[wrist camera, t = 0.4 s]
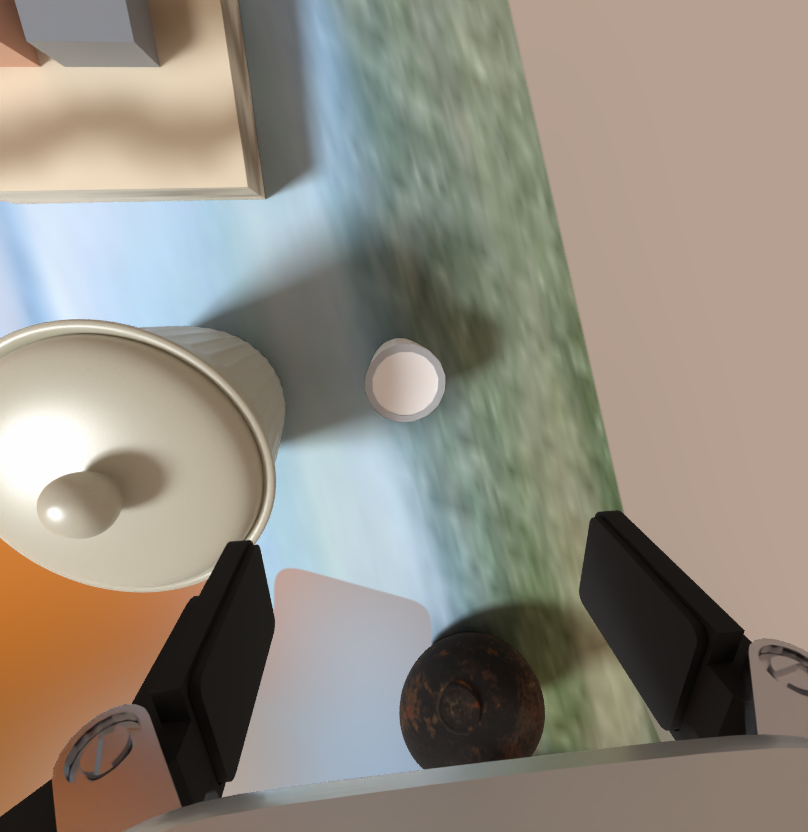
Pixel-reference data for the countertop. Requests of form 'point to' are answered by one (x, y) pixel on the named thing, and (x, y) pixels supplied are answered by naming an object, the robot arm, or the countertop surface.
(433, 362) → the shot glass
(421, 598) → the countertop surface
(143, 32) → the slate tile
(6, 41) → the terracotta tile
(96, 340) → the canister
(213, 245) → the countertop surface
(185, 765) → the robot arm
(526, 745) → the dark brown vase
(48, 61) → the board
